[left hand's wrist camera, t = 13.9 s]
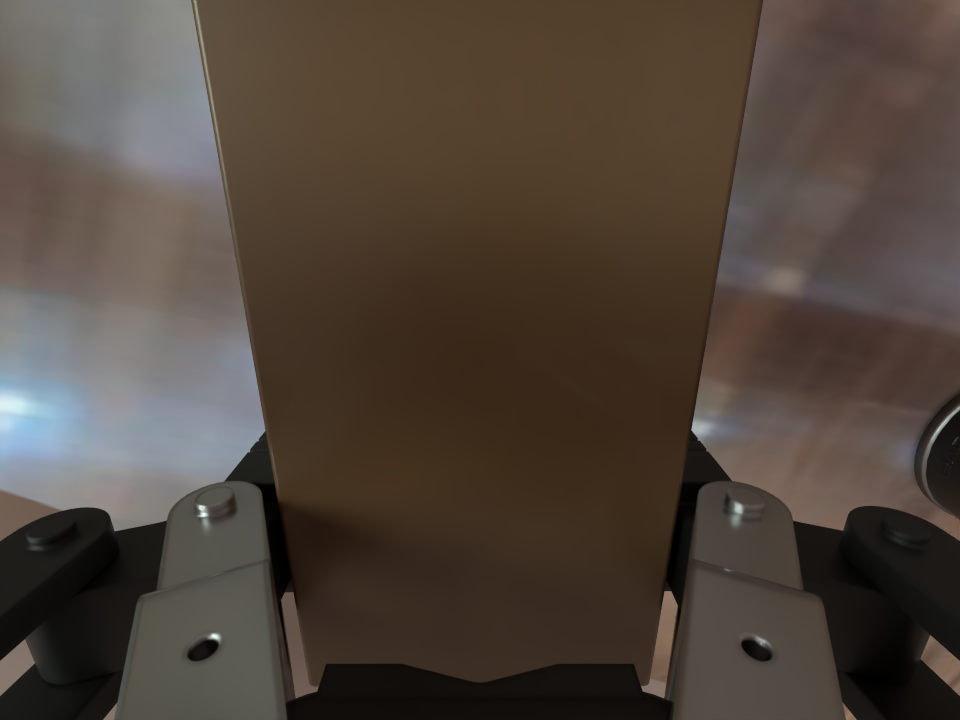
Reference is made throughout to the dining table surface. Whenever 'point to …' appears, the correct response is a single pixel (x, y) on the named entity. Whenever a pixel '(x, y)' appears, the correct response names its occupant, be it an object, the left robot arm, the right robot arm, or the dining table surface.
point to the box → (478, 307)
